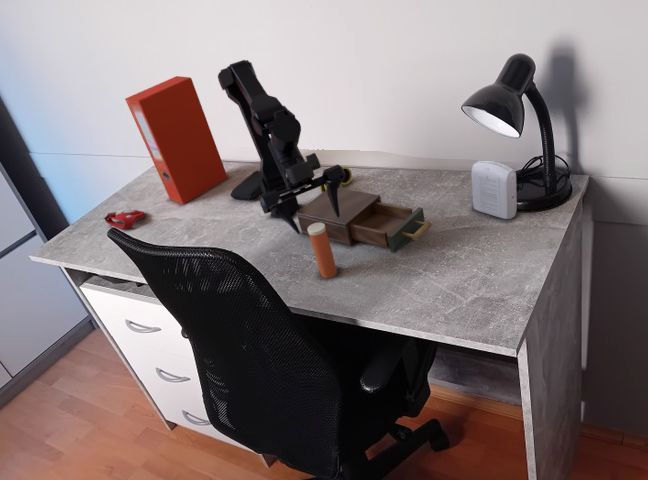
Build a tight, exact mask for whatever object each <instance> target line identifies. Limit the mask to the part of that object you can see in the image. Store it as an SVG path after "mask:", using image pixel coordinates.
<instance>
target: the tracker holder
mask: <svg viewBox="0 0 648 480" xmlns="http://www.w3.org/2000/svg"><path fill="white" fill-rule="evenodd" d="M145 216H146V212H145V211H143V210H137V209H127V210H123V211H122V212H120V213H118V214H117V212H116V211H114V212H107V213H106V214H105V215H104V216H103V218H102V220H104V221H105V222H106V224H108V225H109V226H112V227H115V228H118V229H119V230H128V229H131V228H132V227H133V225H134V223H135V222H136V221H137V220H139V219H141V218H144V217H145ZM114 220H116V221H114ZM117 221H120V222H123V223H124V224H123V223H119V222H117Z"/></svg>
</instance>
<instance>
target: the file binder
mask: <svg viewBox="0 0 648 480" xmlns="http://www.w3.org/2000/svg"><path fill="white" fill-rule="evenodd" d="M195 87H196V86H195V84H194V82H193V79H192V77H189V76H178V75H176V76H173V77H171V78H169V79H167V80H164V81H162V82H160V83H157V84H155V85H153V86H151V87H148V88H146V89H144V90H142V91H138V92H137V93H134V94H132V95H130V96H128V97H126V98H124V100H125V102H126V104H127V106H128V109H129V112H130V113H131V115H132V118H133V119H134V122H135V124H136V127H137V129H138V131H139V133H140V135H141V138H142V140H143V142H144V145H145V147H146V149H147V151H148V153H149V156H150V158H151V160H152V163H153V164H154V167H155V169H156V171H157V174H158V175H159V178H160V180H161V182H162V185H163V187H164V189H165V191H166V194H167V196H168V199H169V200H170V201H173V202H175V203H178V204H181V205H185V204H187V203H189V202H191V201H192V200H194V199H196V198H197V197H199V196H200V195H202V194H204V193H205V192H207V191H209V190H210V189H212V188H214V187H215V186H217V185H218V184H220V183H222V182H224V181H225V180H227V179H228V175H227V172H226V169H225V166H224V164H223V160H222V158H221V155H220V153H219V149H218V147H217V145H216V142H215V138H214V136H213V133H212V131H211V128H210V125H209V123H208V120H207V117H206V115H205V112H204V108H203V106H202V104H201V101H200V98H199V95H198V93H197V89H196V88H195Z"/></svg>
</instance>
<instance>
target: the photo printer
mask: <svg viewBox="0 0 648 480" xmlns="http://www.w3.org/2000/svg"><path fill="white" fill-rule="evenodd" d="M470 171H471V172H470V173H471V187H472V200H473V201H472V204H473V209H474V210H475V211H477V212H480V213H484V214H487V215H490V216H493V217H497V218H500V219H504V220H511V219H513V218H514V217H515V216H516V213H517V210H518V209H517V208H518V204H517V203H518V202H517V201H518V199H517V198H518V197H517V196H518V195H517V172H516V170H514V168H511V167H510V166H509V165H507V164H503V163H502V162H498V161H492V160H478V161H476V162H475V163H473V165H472V167H471V170H470Z"/></svg>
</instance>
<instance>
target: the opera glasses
mask: <svg viewBox="0 0 648 480" xmlns="http://www.w3.org/2000/svg"><path fill="white" fill-rule="evenodd" d="M342 167H343V169H344V171H345V174H346V175H345V178H344V180H343V182H342V183H341V184H340V185H342V186H346V185H347V186H348V185H349V184H350V183H351V181H352V178H353V173H352V170H351V169H350V168H349V167H347V166H342ZM339 188H341V186H340V187H339ZM326 190H327V186H325V185H322V186H320V187H319V191H320V192H321V194H322V193H323V192H324V191H326Z"/></svg>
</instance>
